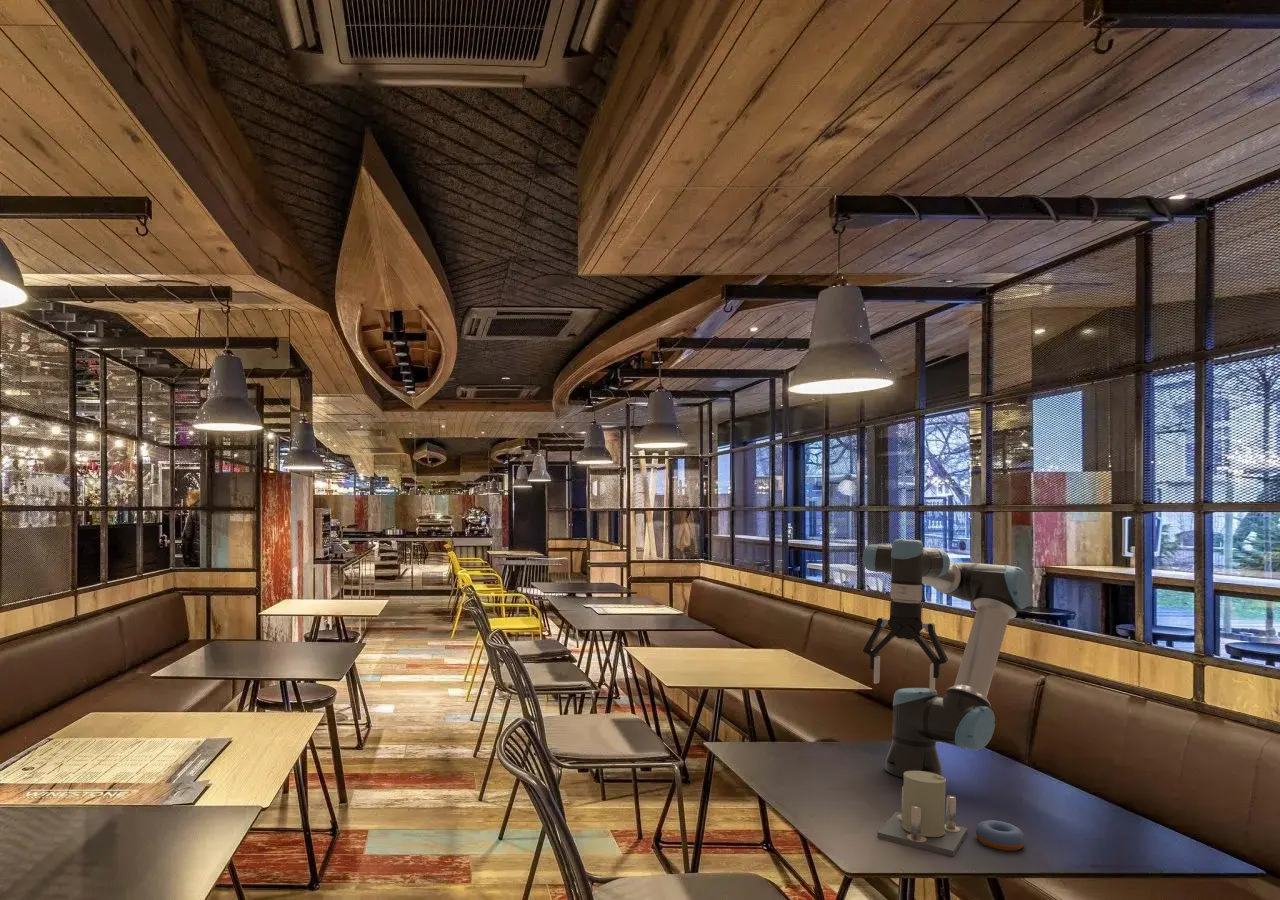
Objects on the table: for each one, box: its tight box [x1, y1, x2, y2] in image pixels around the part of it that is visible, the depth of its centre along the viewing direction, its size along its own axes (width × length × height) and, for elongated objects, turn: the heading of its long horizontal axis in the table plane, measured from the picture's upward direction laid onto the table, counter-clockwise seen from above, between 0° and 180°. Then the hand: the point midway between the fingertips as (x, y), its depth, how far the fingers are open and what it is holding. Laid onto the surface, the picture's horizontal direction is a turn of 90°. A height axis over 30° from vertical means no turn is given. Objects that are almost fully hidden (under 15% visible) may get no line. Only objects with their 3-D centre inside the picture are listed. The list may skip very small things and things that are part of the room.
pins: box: [901, 785, 957, 841], centre depth 183 cm, size 14×12×7 cm
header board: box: [876, 811, 969, 857], centre depth 183 cm, size 16×16×1 cm
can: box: [902, 771, 947, 837], centre depth 184 cm, size 9×9×12 cm
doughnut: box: [975, 819, 1026, 852], centre depth 181 cm, size 10×10×5 cm
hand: (903, 687), depth 205 cm, fingers open, 13 cm apart
